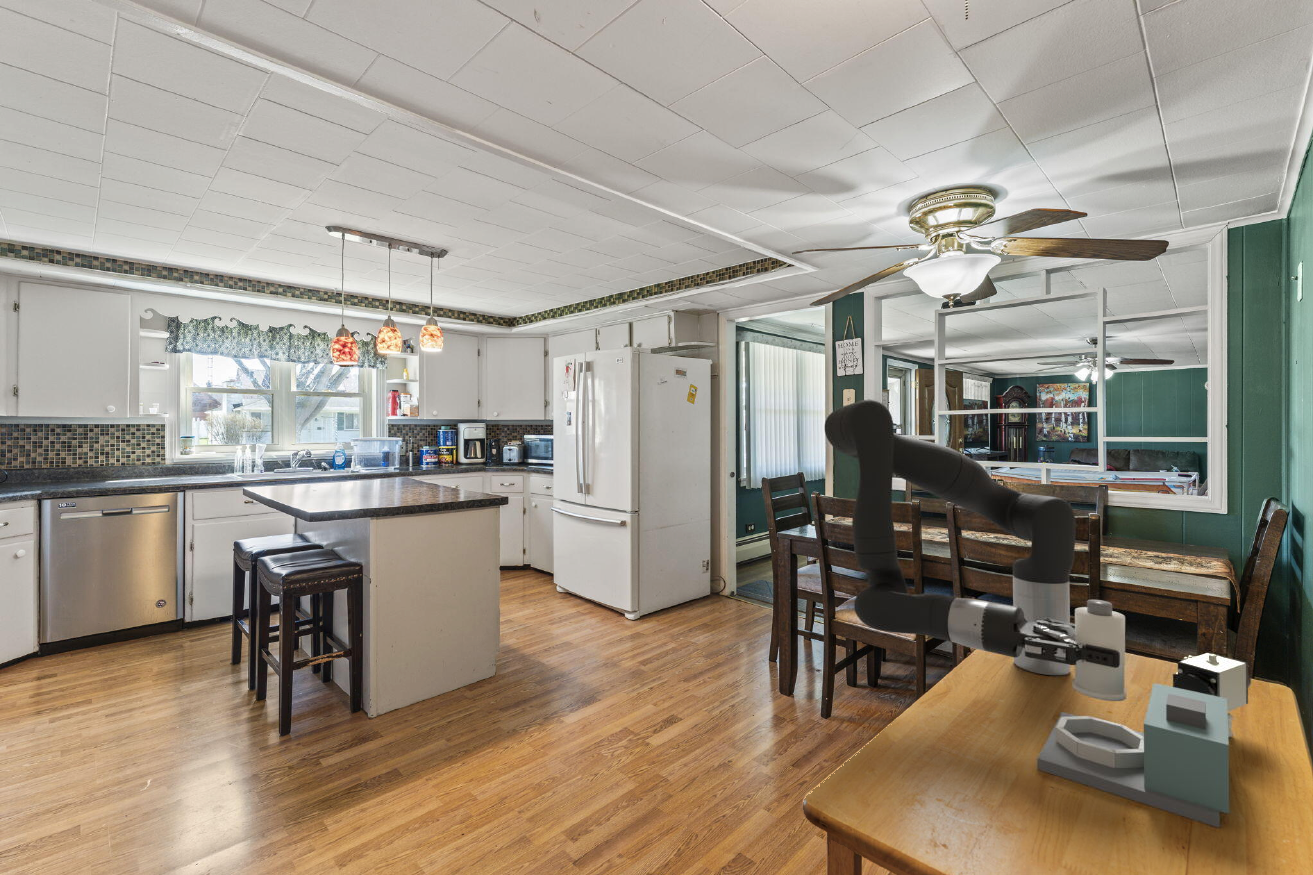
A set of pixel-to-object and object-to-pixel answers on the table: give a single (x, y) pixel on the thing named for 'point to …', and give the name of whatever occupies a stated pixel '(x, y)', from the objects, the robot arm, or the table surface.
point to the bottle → (1106, 632)
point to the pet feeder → (1151, 754)
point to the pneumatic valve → (1215, 679)
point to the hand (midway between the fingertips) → (1121, 653)
